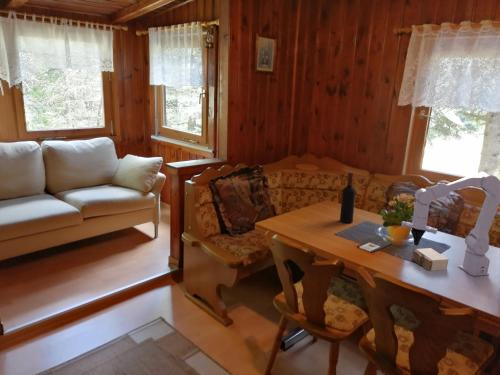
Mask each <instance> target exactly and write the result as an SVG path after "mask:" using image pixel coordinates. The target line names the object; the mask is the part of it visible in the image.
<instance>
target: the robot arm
mask: <svg viewBox="0 0 500 375" xmlns="http://www.w3.org/2000/svg"><path fill="white" fill-rule="evenodd" d="M467 187H474V188H479V189H482V191H483V192H484V194H485V195H486V196H485V199H484V202H483V204H482V206H481V210H480V212H479V215H478V218H477V220H476V223H475V226H474V228H473V229H471V230H470V231H469V234H468V235H466V236H465V238H464V243H465V245H466V247H465V253H464V256H463V257H464V258H463V262H462V264H458V265H457V267H458V268H460V269H461V270H463V271H464V272H466V273H468V274H469V275H471V276H473V277H477V276H489V275H490V273H489V267H490V263H491V262H490V258H488V257H487V256H486V253H488V251H489V249H490V246H489V243H490V235H489V231H490V229H491V227H492V224H493V222H494V218H495V216H496V213H497V211H498V208H499V206H500V179H499V178H498V177H497V176H495V175H492V174H490V173H488V172H487V171H484V170H483V171H482V170H481V171H480V170H479V171H478V172H473V173H471V174H470V175H467V176H465V177H462V178H459V179H458V180H455V181H452V182H449V183H445V182H437V183H436V184H435V185H431V186H427V187H425V188H419V189H417V191H416V192H415V193H414V194H413V195H414V196H413V197H414V198H415V204H414V208H413V209H414V210H413V216H412V221H411V222H409V221H406V220H405V221H404V220H403V221H401V224H400V225H401V227H406V228H410V233H411V235H412V238H413V245H414V246H419V245H420V241H421V239H422V238H423V236H424V234H426V233H431V234H434V235H436V234H437V233H438V228H435V227H432V226H428V225H427V224H428V217H429V212H430V211H429V210H430V204H431V203H432V201H434V200H438V199H440V198H444V197H446V196H449V195H450V194H451V192H453V191H456V190H457V191H458V190H460V189H464V188H467Z"/></svg>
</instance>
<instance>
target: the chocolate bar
mask: <svg viewBox="0 0 500 375" xmlns="http://www.w3.org/2000/svg"><path fill="white" fill-rule="evenodd" d="M391 244H392V245H393V243H392V242H390V241H386V240H384V239H380V238H379V237H376V238H372V239H371V240H368V241H366V242H363V243H360V244H358V245H356V248H359V249H361V250H363V251H366V252H368V251H369V253H371V254H373V253H376V252H378V251H380V250H383V249H384V247H385V248H387V247H389V246H391ZM382 248H383V249H382Z"/></svg>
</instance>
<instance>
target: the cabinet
mask: <svg viewBox="0 0 500 375" xmlns="http://www.w3.org/2000/svg"><path fill="white" fill-rule="evenodd" d="M415 250H416V251H418V252H419V253H420V254H421V255H422V256H423V259H421V261H422V265H421V266H422V267H423V268H424V269H426V270H427V271H445V270H448V264H449V258H448V257H446V256H444V255H443V254H441V253H439V252H438V251H436V250H434V249H433V248H432V247H427V248H415Z"/></svg>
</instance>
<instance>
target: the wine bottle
mask: <svg viewBox="0 0 500 375" xmlns="http://www.w3.org/2000/svg"><path fill="white" fill-rule="evenodd" d="M353 180H354V173H353V172H348V173H347V185H346V186H345V187H344V188H343V189H342V193H341V202H340V203H341V205H340V216H339V222H340V223H342V224H346V225H347V224H349V225H351V224H353V222H354V213H355V212H354V210H355V203H356V202H355V200H356V189H355V188H354V187H353Z"/></svg>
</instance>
